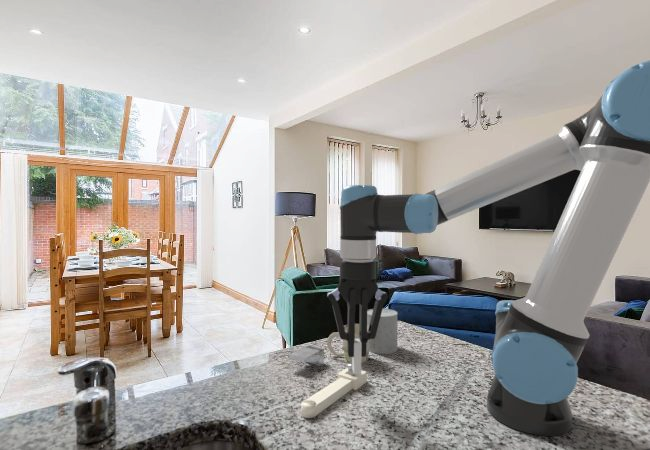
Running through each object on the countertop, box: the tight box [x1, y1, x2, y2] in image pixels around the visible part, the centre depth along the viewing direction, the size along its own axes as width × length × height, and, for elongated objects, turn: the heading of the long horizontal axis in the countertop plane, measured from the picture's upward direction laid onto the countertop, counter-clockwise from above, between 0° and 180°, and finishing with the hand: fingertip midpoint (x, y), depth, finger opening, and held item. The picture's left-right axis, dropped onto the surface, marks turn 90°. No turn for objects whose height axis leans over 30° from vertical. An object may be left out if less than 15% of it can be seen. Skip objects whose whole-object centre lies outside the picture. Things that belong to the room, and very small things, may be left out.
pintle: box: [346, 362, 356, 376], centre depth 86 cm, size 3×3×5 cm
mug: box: [326, 323, 370, 364], centre depth 102 cm, size 8×13×10 cm, turn 78°
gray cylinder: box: [367, 308, 399, 355], centre depth 109 cm, size 10×10×12 cm
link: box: [300, 367, 368, 419], centre depth 79 cm, size 20×5×2 cm, turn 144°
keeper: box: [288, 344, 325, 367], centre depth 96 cm, size 5×8×5 cm, turn 144°
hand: (356, 371), depth 77 cm, fingers closed
